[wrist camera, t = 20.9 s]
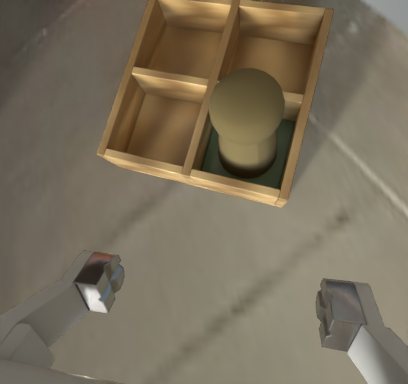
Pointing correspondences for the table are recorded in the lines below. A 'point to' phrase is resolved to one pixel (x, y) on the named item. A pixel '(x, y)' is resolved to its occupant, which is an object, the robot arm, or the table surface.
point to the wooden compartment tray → (203, 87)
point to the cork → (247, 121)
